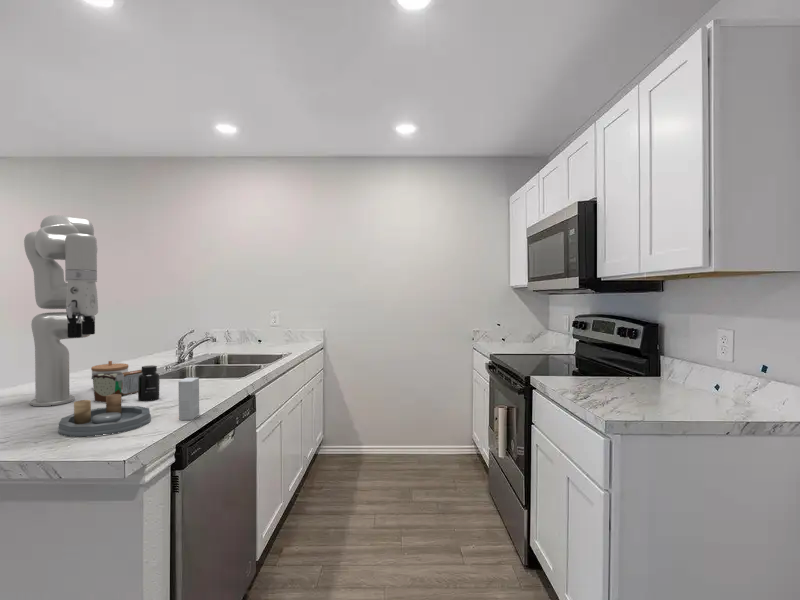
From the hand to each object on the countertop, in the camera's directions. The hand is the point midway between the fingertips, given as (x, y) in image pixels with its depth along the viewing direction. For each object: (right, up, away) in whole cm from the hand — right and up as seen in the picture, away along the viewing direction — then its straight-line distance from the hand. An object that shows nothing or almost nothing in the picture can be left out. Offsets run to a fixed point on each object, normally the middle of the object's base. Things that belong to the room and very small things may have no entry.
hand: (81, 335), depth 131 cm
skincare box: (+26, -27, +10) cm, 39 cm away
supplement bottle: (+1, -26, +34) cm, 43 cm away
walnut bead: (+4, -25, +8) cm, 27 cm away
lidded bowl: (-25, -26, +52) cm, 63 cm away
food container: (-11, -26, +31) cm, 42 cm away
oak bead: (0, -25, 0) cm, 25 cm away
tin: (-11, -26, +44) cm, 52 cm away
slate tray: (+6, -26, +2) cm, 27 cm away
